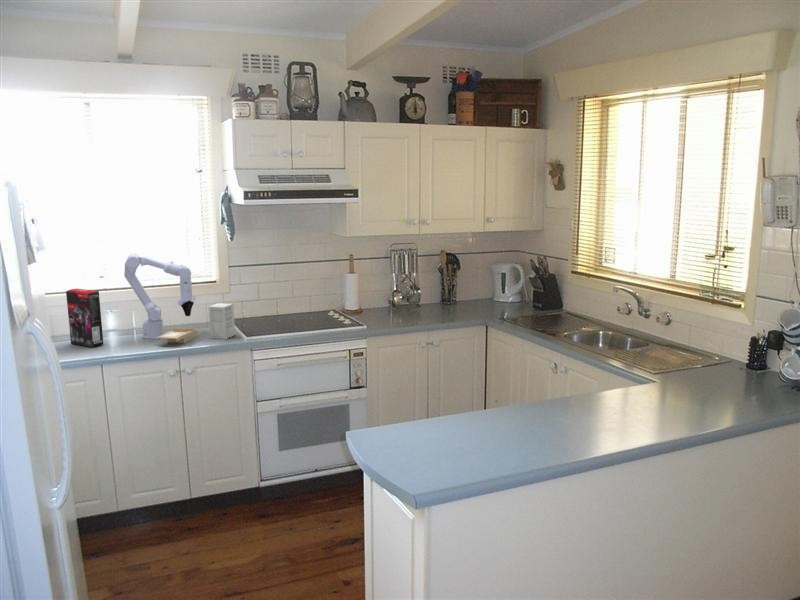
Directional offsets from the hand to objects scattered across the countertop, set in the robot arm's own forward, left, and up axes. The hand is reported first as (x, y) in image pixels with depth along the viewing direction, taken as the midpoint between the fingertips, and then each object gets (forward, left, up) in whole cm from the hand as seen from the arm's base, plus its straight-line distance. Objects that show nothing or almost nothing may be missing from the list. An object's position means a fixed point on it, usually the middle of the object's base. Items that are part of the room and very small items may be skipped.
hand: (187, 315), depth 346 cm
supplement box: (+20, -2, -10) cm, 22 cm away
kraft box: (+3, -12, -10) cm, 16 cm away
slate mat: (+4, -13, -10) cm, 17 cm away
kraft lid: (+3, -19, -6) cm, 21 cm away
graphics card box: (-40, -28, -10) cm, 49 cm away
